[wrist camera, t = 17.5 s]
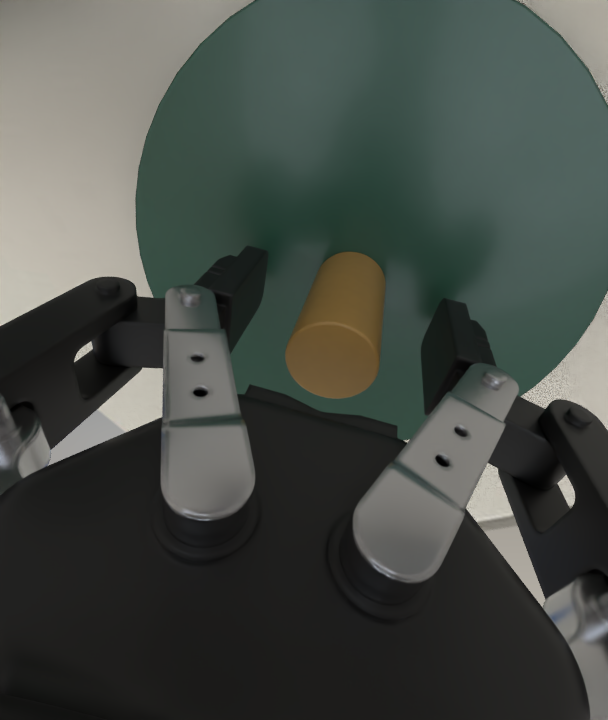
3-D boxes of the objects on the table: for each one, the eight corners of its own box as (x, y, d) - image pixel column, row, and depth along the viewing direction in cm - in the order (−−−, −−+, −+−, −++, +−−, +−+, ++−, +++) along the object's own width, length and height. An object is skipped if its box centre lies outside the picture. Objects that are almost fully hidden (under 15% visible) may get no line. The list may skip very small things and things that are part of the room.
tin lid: (131, -93, 10) (-98, -231, 6) (770, 52, 10) (1129, 33, 5) (159, 374, 21) (87, 464, 16) (468, 462, 20) (489, 583, 15)
